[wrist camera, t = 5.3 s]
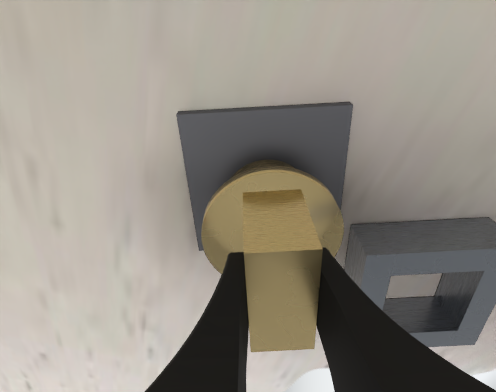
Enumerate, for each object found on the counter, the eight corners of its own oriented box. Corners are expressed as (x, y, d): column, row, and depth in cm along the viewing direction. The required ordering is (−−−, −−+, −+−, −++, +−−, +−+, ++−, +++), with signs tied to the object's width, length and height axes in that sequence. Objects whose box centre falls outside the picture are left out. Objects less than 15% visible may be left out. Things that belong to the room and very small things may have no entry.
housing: (488, 217, 21) (524, 247, 18) (450, 310, 25) (474, 344, 23) (350, 224, 21) (366, 255, 18) (337, 316, 25) (348, 351, 23)
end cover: (329, 140, 16) (392, 224, 10) (321, 242, 19) (363, 358, 13) (201, 147, 16) (175, 236, 10) (214, 248, 20) (201, 367, 13)
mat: (349, 101, 17) (353, 105, 16) (334, 237, 21) (336, 243, 21) (178, 111, 17) (176, 114, 16) (200, 244, 21) (199, 250, 21)
